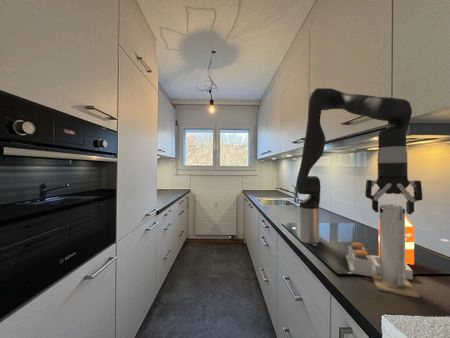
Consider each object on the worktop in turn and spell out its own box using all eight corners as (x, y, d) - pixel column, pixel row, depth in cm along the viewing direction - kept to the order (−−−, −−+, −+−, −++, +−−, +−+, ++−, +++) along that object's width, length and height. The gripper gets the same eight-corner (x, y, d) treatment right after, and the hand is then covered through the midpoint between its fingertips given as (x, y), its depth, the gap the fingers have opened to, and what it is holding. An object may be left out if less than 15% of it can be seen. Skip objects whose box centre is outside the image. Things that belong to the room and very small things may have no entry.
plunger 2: (353, 262, 83) (353, 249, 83) (366, 264, 81) (366, 250, 81) (355, 267, 79) (355, 253, 79) (369, 269, 77) (369, 254, 77)
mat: (370, 275, 77) (370, 273, 77) (406, 281, 73) (406, 279, 73) (378, 290, 67) (378, 288, 67) (419, 297, 64) (419, 295, 64)
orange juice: (396, 255, 94) (395, 208, 94) (414, 264, 85) (414, 212, 85) (378, 255, 94) (377, 208, 94) (394, 264, 85) (394, 213, 85)
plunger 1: (350, 253, 91) (350, 241, 91) (362, 255, 89) (362, 242, 89) (351, 257, 87) (351, 244, 87) (364, 259, 85) (364, 246, 85)
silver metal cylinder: (381, 285, 69) (380, 205, 69) (378, 276, 75) (377, 202, 75) (408, 290, 66) (407, 207, 66) (402, 281, 72) (402, 204, 72)
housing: (345, 257, 92) (345, 244, 92) (399, 264, 85) (399, 250, 85) (350, 273, 79) (350, 258, 79) (415, 283, 71) (415, 267, 71)
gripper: (368, 161, 69) (368, 213, 69) (426, 161, 64) (426, 217, 64) (363, 162, 76) (363, 209, 76) (415, 161, 71) (415, 212, 71)
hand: (392, 212), depth 70 cm, fingers open, 8 cm apart
